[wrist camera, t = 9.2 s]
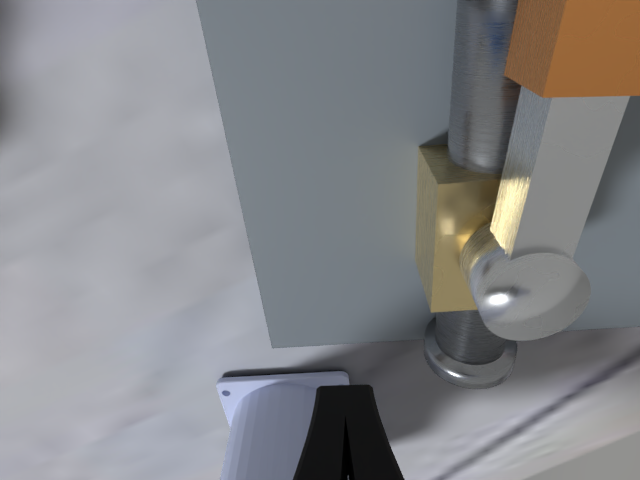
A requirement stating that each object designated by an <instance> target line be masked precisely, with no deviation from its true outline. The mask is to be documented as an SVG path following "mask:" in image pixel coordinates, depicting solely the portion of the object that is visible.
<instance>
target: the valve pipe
mask: <svg viewBox="0 0 640 480" xmlns="http://www.w3.org/2000/svg"><path fill="white" fill-rule="evenodd" d="M517 5H518V0H457V10H456V25H455V41H454V56H453V71H452V86H451V101H450V116H449V132H448V144H439V145H428V146H418V171H417V207H416V243H415V262H416V266H417V269H418V272H419V275H420V279H421V282H422V285H423V288H424V292H425V295H426V298H427V302H428V305H429V308H430V311H431V313H432V312H437V313H436V318H433V319H432V320H431V321H430V322H429V323H428V325H427V327H426V329H425V336H424V355H425V359H426V361H427V363H428V365H429V366H430V368H431V369H432V370H433V371H434V372H435V373H436V374H437V375H438V376H439V377H441V378H442V379H444V380H446V381H448V382H449V383H452V384H454V385H457V386H460V387H464V388H470V389H485V388H490V387H494V386H497V385H499V384H501V383H502V382H504V381H505V380H506V379H507V378H508V377H509V376H510V374H511V373H512V370H513V367H514V363H515V358H516V353H517V343H516V341H515V340H509V339H505V338H502V337H499V336H497V335H496V334H494V333H493V332H491V331H490V330H489V329H488V328H487V327H486V325H485V324H484V322H483V320H482V318H481V315H480V313H479V311H478V309H477V306H476V304H475V302H474V300H473V297H472V295H471V293H470V291H469V289H468V286H467V284H466V282H465V280H464V277H463V275H462V273H461V270H460V265H459V259H460V254H461V251H462V248H463V246H464V245H465V243H466V241H467V240H468V239H469V238H470V237H471V235H472V234H473V233H475V232H476V231H477V230H478V229H480V228H481V227H483V226H484V225H486V224H488V223H490V222H492V218H493V214H494V209H495V204H496V200H497V195H498V191H499V186H500V182H501V177H502V172H503V168H504V163H505V159H506V154H507V150H508V145H509V140H510V136H511V131H512V127H513V122H514V118H515V113H516V109H517V104H518V99H519V95H520V90H521V86H522V85H520V84H518V83H517V82H515V81H513V80H512V79H510V78H508V77H506V76H505V75H504V71H505V66H506V61H507V56H508V51H509V46H510V41H511V35H512V30H513V25H514V20H515V15H516V10H517Z"/></svg>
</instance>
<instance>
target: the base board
mask: <svg viewBox="0 0 640 480" xmlns="http://www.w3.org/2000/svg"><path fill="white" fill-rule="evenodd" d="M196 3H197V7H198V12H199V16H200V21H201V25H202V30H203V35H204V39H205V44H206V48H207V53H208V57H209V62H210V67H211V71H212V76H213V80H214V85H215V89H216V94H217V99H218V103H219V108H220V112H221V117H222V121H223V126H224V130H225V135H226V140H227V144H228V149H229V153H230V158H231V162H232V167H233V172H234V176H235V181H236V185H237V190H238V194H239V199H240V204H241V208H242V213H243V217H244V222H245V226H246V231H247V236H248V240H249V245H250V249H251V254H252V258H253V263H254V268H255V272H256V277H257V281H258V286H259V290H260V295H261V300H262V304H263V309H264V313H265V318H266V322H267V327H268V332H269V336H270V341H271V345H272V348H287V347H304V346H320V345H337V344H354V343H371V342H388V341H405V340H422V339H424V336H425V329H426V327H427V325H428V323H429V322H430V321H431V320H432V319H433V318H436V313H437V312H432V313H431V311H430V308H429V305H428V302H427V298H426V295H425V292H424V288H423V285H422V282H421V279H420V275H419V272H418V269H417V266H416V262H415V243H416V207H417V171H418V146H428V145H439V144H448V132H449V116H450V101H451V86H452V71H453V56H454V41H455V25H456V10H457V0H196ZM573 260H574V261H575V262H576V263H577V265H578V266H579V267H580V268H581V269H582V271H583V272H584V273H585V274H586V276H587V277H588V279H589V281H590V286H591V294H590V299H589V302H588V304H587V306H586V308H585V310H584V311H583V313H582V314H581V315H580V316H579V317H578V318H577V319H576V320H575V321H574V322H573V323H572V324H570V325H569V326H568V327H566V328H565V329H563V330H561V331H574V330H591V329H608V328H625V327H640V96H630V98H629V101H628V104H627V106H626V109H625V112H624V115H623V118H622V120H621V123H620V126H619V129H618V132H617V135H616V137H615V140H614V143H613V146H612V149H611V151H610V154H609V157H608V160H607V163H606V166H605V168H604V171H603V174H602V177H601V180H600V183H599V185H598V188H597V191H596V194H595V197H594V199H593V202H592V205H591V208H590V211H589V214H588V216H587V219H586V222H585V225H584V228H583V230H582V233H581V236H580V239H579V242H578V245H577V247H576V250H575V253H574V256H573Z"/></svg>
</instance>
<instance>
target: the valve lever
mask: <svg viewBox="0 0 640 480" xmlns="http://www.w3.org/2000/svg"><path fill="white" fill-rule="evenodd" d="M504 75H505V76H506V77H508V78H510V79H512V80H513V81H515V82H517V83H518V84H520V85H522V86H521V90H520V95H519V99H518V104H517V109H516V113H515V118H514V122H513V127H512V131H511V136H510V140H509V145H508V150H507V154H506V159H505V163H504V168H503V172H502V177H501V182H500V186H499V191H498V195H497V200H496V204H495V209H494V214H493V218H492V222H490V223H488V224H486V225H484V226H483V227H481V228H480V229H478V230H477V231H476V232H475V233H473V234H472V235H471V237H470V238H469V239H468V240H467V241H466V243H465V245H464V246H463V248H462V251H461V254H460V259H459V265H460V270H461V273H462V275H463V277H464V280H465V282H466V284H467V286H468V289H469V291H470V293H471V295H472V297H473V300H474V302H475V304H476V306H477V309H478V311H479V313H480V315H481V318H482V320H483V322H484V324H485V325H486V327H487V328H488V329H489V330H490V331H491V332H493V333H494V334H496V335H497V336H499V337H502V338H505V339H509V340H515V341H530V340H537V339H541V338H545V337H548V336H550V335H553V334H555V333H557V332H559V331H561V330H563V329H565V328H566V327H568V326H569V325H570V324H572V323H573V322H574V321H575V320H576V319H577V318H578V317H579V316H580V315H581V314H582V313H583V311H584V310H585V308H586V306H587V304H588V302H589V299H590V294H591V286H590V281H589V279H588V277H587V276H586V274H585V273H584V272H583V271H582V269H581V268H580V267H579V266H578V265H577V263H576V262H575V261H574V260H573V256H574V253H575V250H576V247H577V245H578V242H579V239H580V236H581V233H582V230H583V228H584V225H585V222H586V219H587V216H588V214H589V211H590V208H591V205H592V202H593V199H594V197H595V194H596V191H597V188H598V185H599V183H600V180H601V177H602V174H603V171H604V168H605V166H606V163H607V160H608V157H609V154H610V151H611V149H612V146H613V143H614V140H615V137H616V135H617V132H618V129H619V126H620V123H621V120H622V118H623V115H624V112H625V109H626V106H627V104H628V101H629V98H630V96H640V0H518V5H517V10H516V15H515V20H514V25H513V30H512V35H511V41H510V46H509V51H508V56H507V61H506V66H505V71H504Z"/></svg>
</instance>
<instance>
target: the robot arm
mask: <svg viewBox="0 0 640 480" xmlns="http://www.w3.org/2000/svg"><path fill="white" fill-rule="evenodd" d="M340 384H342V385H340ZM216 388H217V391H218V394H219V397H220V400H221V403H222V405H223V408H224V411H225V414H226V417H227V420H228V423H229V426H230V434H229V438H228V443H227V448H226V453H225V458H224V462H223V467H222V472H221V477H220V480H404V478H403V475H402V473H401V471H400V468H399V466H398V464H397V461H396V459H395V456H394V454H393V452H392V449H391V447H390V444H389V442H388V439H387V436H386V433H385V430H384V428H383V425H382V422H381V419H380V416H379V412H378V409H377V406H376V402H375V398H374V393H373V388H372V387H371V386H370V385H349V376H348V374H347V373H346V372H343V371H333V372H315V373H297V374H279V375H261V376H243V377H225V378H220V379H219V380H218V381H217V385H216Z"/></svg>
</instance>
